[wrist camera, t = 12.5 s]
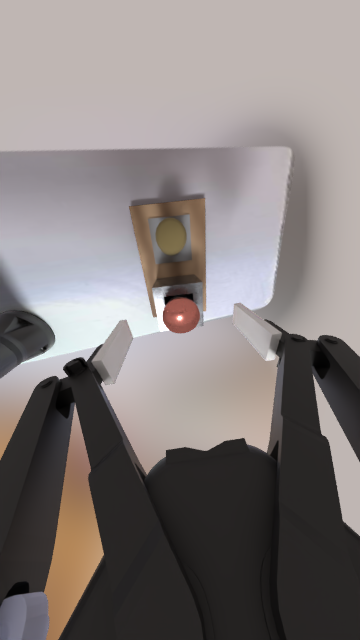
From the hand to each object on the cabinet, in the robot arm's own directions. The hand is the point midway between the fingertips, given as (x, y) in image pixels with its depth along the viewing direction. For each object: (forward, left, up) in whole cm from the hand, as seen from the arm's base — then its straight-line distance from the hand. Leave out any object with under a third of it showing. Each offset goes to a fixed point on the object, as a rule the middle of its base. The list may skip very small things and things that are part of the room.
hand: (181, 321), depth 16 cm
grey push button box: (0, -3, -22) cm, 22 cm away
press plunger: (0, -3, -17) cm, 17 cm away
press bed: (0, +4, -24) cm, 24 cm away
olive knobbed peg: (0, +10, -21) cm, 23 cm away
